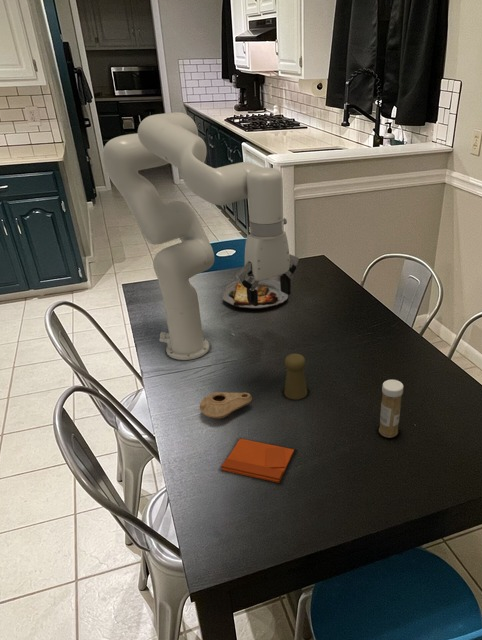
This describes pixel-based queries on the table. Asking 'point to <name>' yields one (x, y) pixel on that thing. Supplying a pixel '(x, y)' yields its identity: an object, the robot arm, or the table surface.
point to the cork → (295, 377)
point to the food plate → (265, 289)
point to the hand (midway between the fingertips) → (269, 298)
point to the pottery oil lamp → (223, 403)
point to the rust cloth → (258, 460)
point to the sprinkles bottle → (390, 408)
